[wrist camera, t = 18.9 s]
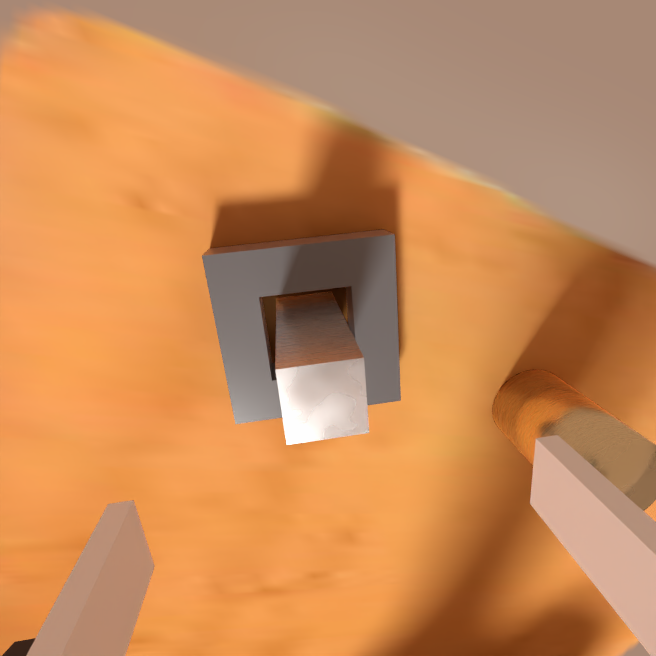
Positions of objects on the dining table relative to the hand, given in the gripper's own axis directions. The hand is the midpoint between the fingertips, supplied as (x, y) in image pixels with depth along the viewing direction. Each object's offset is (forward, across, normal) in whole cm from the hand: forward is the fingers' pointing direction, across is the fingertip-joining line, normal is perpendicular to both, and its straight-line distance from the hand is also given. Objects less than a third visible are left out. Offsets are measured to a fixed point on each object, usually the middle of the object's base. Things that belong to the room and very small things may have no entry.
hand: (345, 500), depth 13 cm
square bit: (+18, 0, 0) cm, 18 cm away
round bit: (+18, +18, -10) cm, 27 cm away
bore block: (+18, 0, 0) cm, 18 cm away
